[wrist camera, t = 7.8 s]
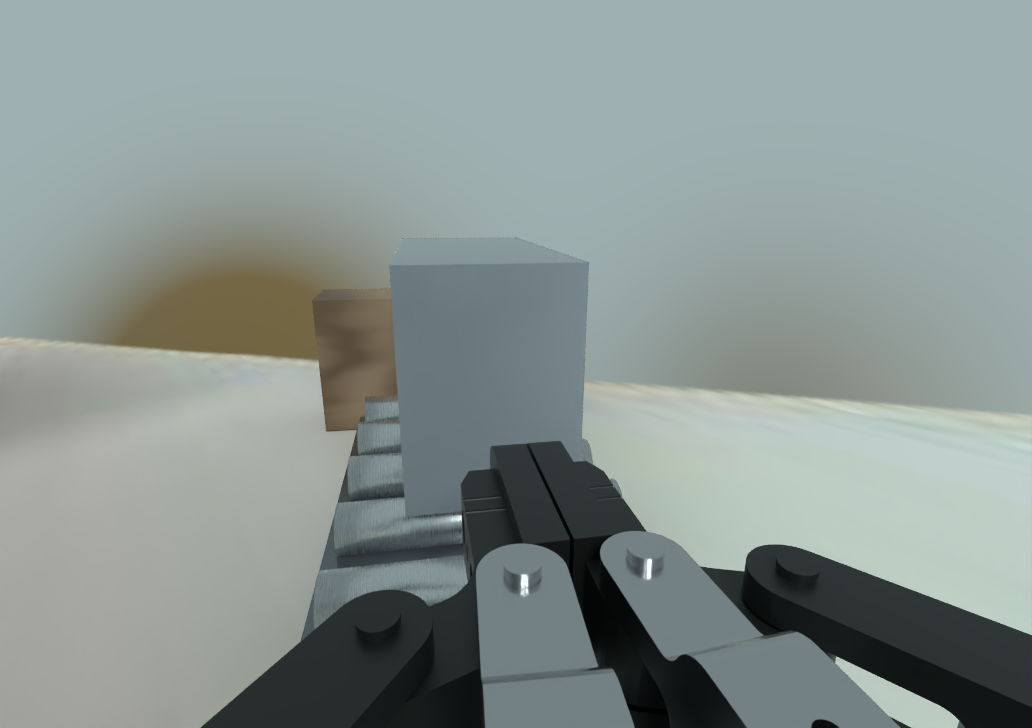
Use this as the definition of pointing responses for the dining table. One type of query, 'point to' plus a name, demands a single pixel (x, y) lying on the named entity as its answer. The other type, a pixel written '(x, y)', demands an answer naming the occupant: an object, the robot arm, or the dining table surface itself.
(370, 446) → the conveyor
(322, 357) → the stop bar
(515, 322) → the slate block
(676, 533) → the dining table surface
